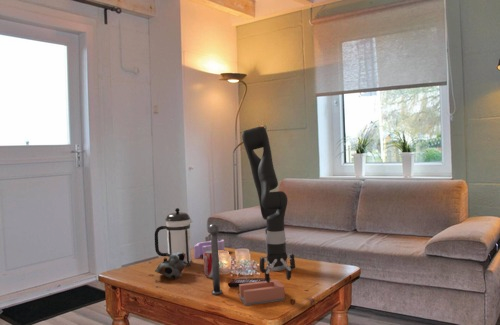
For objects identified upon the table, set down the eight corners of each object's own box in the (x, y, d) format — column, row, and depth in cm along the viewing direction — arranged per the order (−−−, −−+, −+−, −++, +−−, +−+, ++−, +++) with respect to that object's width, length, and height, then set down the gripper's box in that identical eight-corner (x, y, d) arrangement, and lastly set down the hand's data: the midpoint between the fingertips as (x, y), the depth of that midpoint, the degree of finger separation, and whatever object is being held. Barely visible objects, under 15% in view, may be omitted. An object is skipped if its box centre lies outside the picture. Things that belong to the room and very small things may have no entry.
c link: (277, 290, 181) (276, 279, 181) (284, 298, 171) (284, 286, 171) (239, 295, 177) (239, 284, 177) (245, 303, 168) (244, 291, 167)
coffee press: (181, 258, 242) (178, 205, 241) (200, 263, 231) (197, 207, 230) (155, 266, 230) (152, 209, 229) (173, 271, 219) (170, 211, 218)
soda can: (217, 278, 202) (216, 253, 202) (202, 278, 204) (201, 253, 203) (221, 274, 209) (220, 249, 209) (207, 274, 211) (206, 249, 210)
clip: (212, 250, 261) (212, 238, 261) (229, 251, 254) (229, 240, 254) (190, 258, 244) (190, 245, 244) (207, 260, 237) (207, 247, 237)
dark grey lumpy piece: (160, 272, 217) (172, 246, 219) (182, 282, 214) (193, 256, 217) (150, 272, 202) (163, 244, 205) (173, 283, 200) (186, 254, 202)
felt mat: (275, 290, 182) (275, 289, 182) (285, 300, 170) (284, 299, 170) (238, 295, 178) (238, 294, 178) (245, 305, 166) (245, 304, 166)
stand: (221, 291, 185) (217, 222, 183) (223, 294, 180) (219, 224, 179) (210, 292, 183) (207, 223, 182) (212, 295, 179) (209, 225, 178)
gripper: (289, 237, 180) (291, 275, 181) (256, 241, 177) (258, 280, 178) (296, 241, 173) (298, 281, 174) (261, 245, 169) (263, 286, 170)
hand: (278, 280), depth 176 cm, fingers open, 8 cm apart
